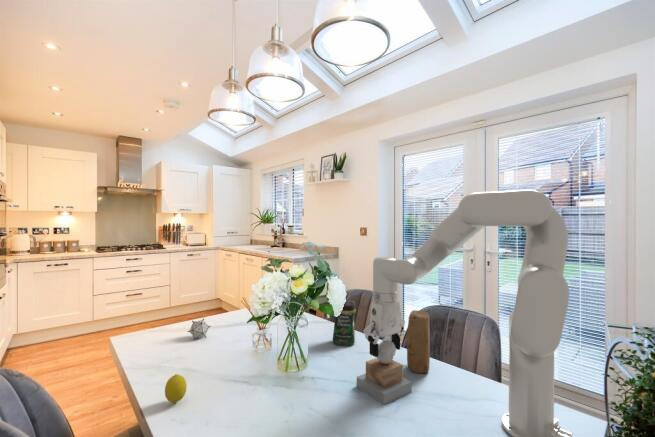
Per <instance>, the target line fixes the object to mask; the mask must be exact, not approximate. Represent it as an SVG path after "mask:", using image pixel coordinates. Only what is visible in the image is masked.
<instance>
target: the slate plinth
mask: <svg viewBox="0 0 655 437" xmlns="http://www.w3.org/2000/svg"><path fill="white" fill-rule="evenodd" d="M412 386H413V383H412V381H410V380H409V379H407V378H405V377H403V376H402V381H401V382H399V383H397V384H394V385H392V386H390V387H387V388H385V389H384V388H382V387H380V386H379V385H377V384H375V383H374V382H372V381H370V380H369V379H367V378H366V373H363V374H361V375H360V374H359V375H358V376H356V387H357V388H358V389H359V390H361V391H363V392H365V393H366V394H367V395H369V396H371V397H372V398H373V399H375V400H377V401H378V402H380V403H381V404H382V405H387V404H389V403H391V402H393V401H396V400H397V399H400V398H401V397H404V396H406V395H408V394H410V393H412V392H413V391H412V390H413V389H412Z"/></svg>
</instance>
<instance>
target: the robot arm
mask: <svg viewBox="0 0 655 437" xmlns="http://www.w3.org/2000/svg"><path fill="white" fill-rule="evenodd" d="M485 227H523V229H524V231H525V233H526V234H525V235H526V240H525V245H524V253H523V259H522V264H521V268H520V271H519V274H518V277H517V291H516V292H517V293H516V297H515V298H516V299H515V303H514V308H513V309H512V310H511V312H510V314H509V316H508V342H509V343H508V347H509V348H508V412H507V413H504V414H503V415H502V416H501V425H502V427H503V429H504V430H505V431H506V433H508V434H509V435H510V436H511V437H573V432H571V431H568V430H566V429H563V428H562V427H561V426H559V419H558V418H555V351H557V349H558V347H559V346H560V343H561V339H562V336H563V331H564V328H565V327H564V326H565V321H566V316H567V312H568V308H569V307H568V306H569V301H570V288H569V283H568V282H567V280H566V279H565V277H564V271H565V265H566V259H567V252H568V245H569V234H568V229H567V225H566V223H565V221H564V218H563V217H562V215H561V214H560V213H559V211H558V210H557V209H556V208H554V207H553V206H552V202H551V200H550V198H548V196H547V195H546V194H544V193H542V192H540V191H537V190H535V189H534V190H533V189H520V190H506V191H505V190H504V191H503V190H502V191H483V192H482V191H481V192H480V191H479V192H473V193H468V194H466V195H465V196H464V197H462V199H461V200H460V202H459V203H458V206H457V207H456V208H455V209H454V210H453V211H452V212H451V213H450V214H449V215H448V216H446V218H444V219H443V220H442V221H441V222H440V223H439V224H438V225H436V226H435V227H434V229H433V230H432V231H431V232H430V235H429V237H428V238H427V240H426V241H425V242H424V244H422V245H421V246H420V247H419V248H418V249H417V250H415V252H414V253H412V254H411V255H410V256H408V257H406V258H402V259H396V258H395V257H391V256H377V257H375V258H374V259H373V260H372V261H373V263H372V295H371V299H372V302H371V305H370V306H371V307H370V314H369V324H368V325H367V326H366V327H365V328H363V335H364V336H365V339H366V340H367V342H369V355H370V356H373V357H374V358H377V357H378V345H379V343H378V341H379V339H380V338H386V337H389V336H391V337H390V339H391V340H390V341H391V342H393V343H394V344H395V347H396V350H399V351H400V350H401V337H402V335H403V334H402V332H403V331H404V326H405V322H406V321H405V320H404V319H403V318H402V311H401V305H400V302H399V300H398V284H401V285H406V286H407V285H413V284H415V283H417V282H418V281H419V280H421V279H423V278H424V277H425V276H426V275H427V274H428V273H430V272H431V271H433V269H435V268H436V267H437V266H438V265H439V264H440V263H441V262H443V261H444V260H445V259H446V258H448V257H449V256H451V255H453V254H454V253H455V252H456V251H457V250H459V249H460V248H461V247H462V246H463V245H464V244H465V243H466V242H468V241H469V240H470V239H471V238H473V237H474V236H475V235H476V234H477V233H478V232H480V231H481V230H483V229H484V228H485Z"/></svg>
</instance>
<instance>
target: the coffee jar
mask: <svg viewBox="0 0 655 437" xmlns="http://www.w3.org/2000/svg"><path fill="white" fill-rule="evenodd" d="M345 300H346V302H345V304H344V307H343V310H342V312H341V314H340V316H338V317H335V316H334V325H333V326H334V327H333V331H332V332H333V334H332V343H333V344H335V345H338V346H345V347H350V346H353V345H355V343H356V331H355V313H356V311H357V309H356V308H357V306H356V302H355V300H354V299H353V300H352V299H351V300H350V299H345Z"/></svg>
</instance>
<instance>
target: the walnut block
mask: <svg viewBox="0 0 655 437" xmlns="http://www.w3.org/2000/svg"><path fill="white" fill-rule="evenodd" d="M403 366H404V365H403V364H401V363H400V362H397V361H395V360H394V359H392V361H391V362H390V363H388V364H383V363H381V362H380V361H379V360H378V358H377V357H374V358H373V359H370V360H367V361H365V374H366V378H367V379H369V380H370V381H372V382H374V383H375V384H377V385H379V386H380V387H382V388H384V389H385V388H387V387H390V386H392V385H394V384H397V383H399V382H401V381H402V377H403Z"/></svg>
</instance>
